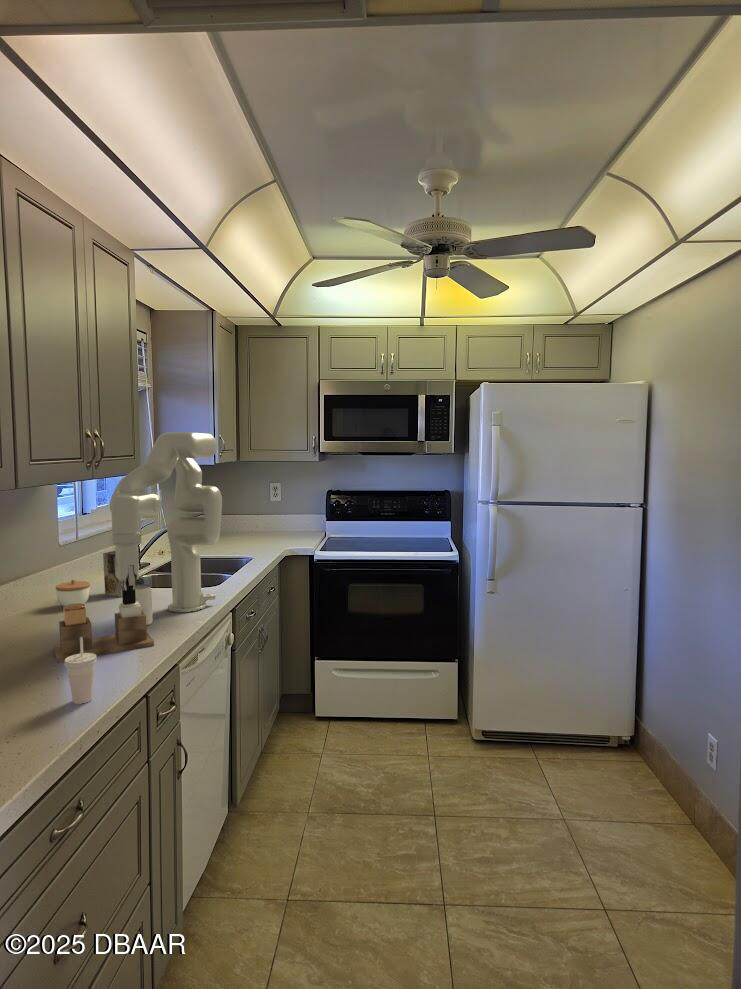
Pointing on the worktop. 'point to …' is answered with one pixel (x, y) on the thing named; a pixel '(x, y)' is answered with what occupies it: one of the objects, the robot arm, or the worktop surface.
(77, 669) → the smoothie
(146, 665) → the worktop surface
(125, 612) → the pale plunger
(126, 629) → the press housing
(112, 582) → the coffee box
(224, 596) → the worktop surface
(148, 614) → the can
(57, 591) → the lidded jar
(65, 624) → the copper plunger
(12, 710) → the worktop surface
